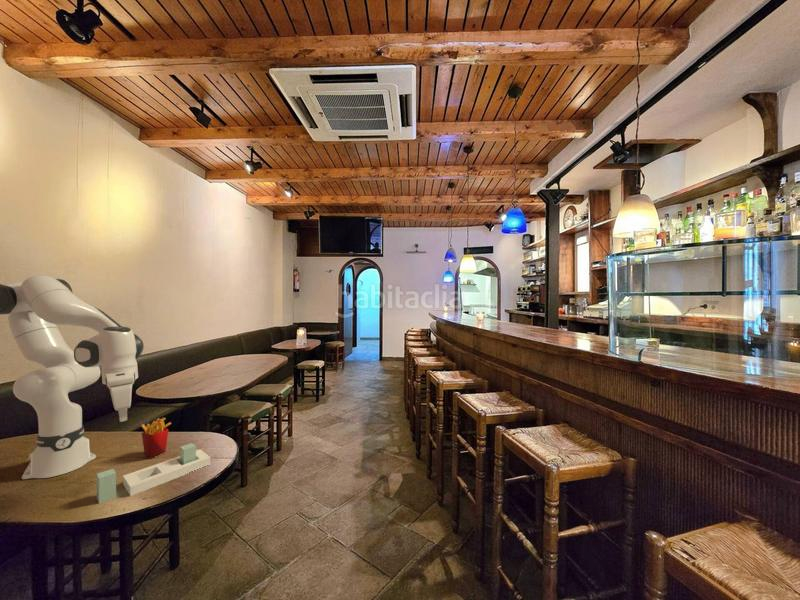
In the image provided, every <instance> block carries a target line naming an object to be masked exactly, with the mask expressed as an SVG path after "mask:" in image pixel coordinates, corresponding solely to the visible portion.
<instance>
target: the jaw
mask: <svg viewBox="0 0 800 600" xmlns="http://www.w3.org/2000/svg"><path fill="white" fill-rule="evenodd" d="M116 497H117V472H116V471H115V469H114V468H110V469H108V470H104V471H101V472H97V473H96V500H97V502H98V504H101V502H102V503H103V502H106V501H109V500H112V499H115V498H116Z"/></svg>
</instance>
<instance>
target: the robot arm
mask: <svg viewBox="0 0 800 600" xmlns="http://www.w3.org/2000/svg"><path fill="white" fill-rule="evenodd" d="M0 315H8V316H7V317H8V318H7V319H8V324H9V328H10V332H11V334H12V336H13V338H14V340H15V343H16V344H17V346H18V348H19V350H20V352H21V354H22V356H23V357H24V358H25V359H26V360H28V361H29V362H33V363H34V362H35V363H37V364H39V365H40V364H41V366H43V367H44V368H40V369H36V370H32V371H31V372H29V373H25V374H23V375H20V376H19V377H18V378H17V379H16V380H15V381H14V384H13V386H12V392H13V395H14V396H15V397H16V398H17V399H18V400H19V401H21V402H24V403H28V404H29V405H30V406H32V408H33V409H34V411H35V412H36V415H37V421H38V422H37V424H38V435H36V439H35V440H36V448H35V449H34V450H33V451H32V452H30V453H29V454H28V461H30V462H29V464H28V465H27V467H26V468H25V470H24V472H23V474H22V476H21V479H22V480H28V479H30V480H31V479H48V478H52V477H56V476H61V475H65V474H67V473H70V472H73V471H75V470H78V469H79V468H81V467H83V466H85V465H86V464H87V463H89V462H91V461H92V460H94V459H96V458H97V455H96V454H95V453H93V452H91V450H90V439H89V438H87V437H85V436H84V435H85V433H84V432H85V428H84V425H83V409H82V406H81V405H80V404H78V403H75V402H72V401H71V400H70V399H69V393H71V392H75V391H78V390H81V389H84V388H87V387H88V386H91V385H92V384H94V383H96V382H97V381H98V380H99V379H100V377H101V379H102V380H101V382H102V385H105V386H106V387H108V389H109V393H110V396H111V401H112V405H113V408H114V410H115V411H118V418H119V422H120V423H121V422H126V421H128V409H130V408H131V406H132V394H133V393H132V392H133V385H134V384H135V381H136V380H137V379H138V378H139V370H138V369H139V368H138V362H137V359H138V358H140V356H141V355H142V353H143V350H144V349H145V348H144V347H145V346H144V342H143V341H142V339H141V338H140V336H138V335H137V334H135V333H134V331H133V330H132V329H133V328H130V327H127V326H122V325H121V324H120V323H118V322H117V321H116V320H114V319H113V318H112V317H111V316H109V315H108V314H107V313H105V312H104V311H103V310H101V309H99V308H97V307H95V306H92V305H91V304H89V303H87V302H85V301H83V299H80V297H78V296H76V295H75V294H74V293H73V289H72V287H71V285H70V284H69V283H68V282H67V281H66V280H65V279H61V278H54V277H53V276H50V275H43V274H41V275H39V274H37V275H32V276H30V277H28V278H26V279H25V280H20V281H14V282H7V283H0ZM59 325H60V326H72V327H73V326H74V327H82V328H83V327H84V328H89V329H91V330H94V331H96V332H98V334H96V335H94V336H92V337H89V338H86V339H84V340H81V341H79V342H78V343H77V345H76V346H75V347H74V350H73V349H72V348H71V347H70V346H69V345H68V344H67V342H66V340H65V339H64V337H63V335H62V333H61V331H60V329H59V327H58V326H59ZM100 367H101V368H100Z"/></svg>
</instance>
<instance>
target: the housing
mask: <svg viewBox="0 0 800 600" xmlns="http://www.w3.org/2000/svg"><path fill="white" fill-rule="evenodd" d="M207 465H209V466H211V456H209V455H208V454H207V453H206V452H205V451H204V450H202V449H200V448H199V449H197V445H195V444H194V443H193V442H190V443H188V444H185V445H182V446H180V447H179V456H176V457H174V458H171V459H167V460H165V461H163V462H159V463H155V464H153V465H150V466H148V467H144V468H142V469H141V468H140V469H138V470H136V471H135V470H134V472H133V471H132V472H130V473H127V474H123V475H122V485H123V487H124V488H125V490H126V492H127V493H128V494H129V496H130V497H131V496H134V495H136V494H139V493H142V492H144V491H146V490H149V489H151V488H155V487H158V486H160V485H163V484H165V483H168V482H170V481H172V480H176V479H178V478H181V477H182V476H183V477H184V476H186V475H188V474H190V473H189V472H191V471H193V472H195V471H194V470H196V471H198V470H197V469H199V468H201V469H203V468H202V467H204V466H206V467H208V466H207ZM204 468H205V467H204ZM199 470H200V469H199ZM187 473H188V474H187ZM191 473H192V472H191ZM185 474H186V475H185ZM180 476H181V477H180Z"/></svg>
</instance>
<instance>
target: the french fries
mask: <svg viewBox="0 0 800 600" xmlns="http://www.w3.org/2000/svg"><path fill="white" fill-rule="evenodd" d="M165 420H166V417H162V418H157V419H156V420H154V421H152V422H151V423H146V425H145V424H144V423H143V424H141V425H140V426H141V427H142V429H143V430H144V431H143V432H141V438H142V445H143V451H144V457H146V456H148V457H147V458H149V457H151V458H150V459H152V458H153V457H155V456H157V457H159V456H158V455H160V454H162V453H164V452H165V453H166V452H167V451H166V450H167V443H168V436H169V429H168V426H170V425H172V422H171V421H170V422H168V423H166V424H165ZM165 453H164V454H165ZM162 455H163V454H162ZM160 456H161V455H160ZM155 458H156V457H155ZM153 459H154V458H153Z"/></svg>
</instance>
